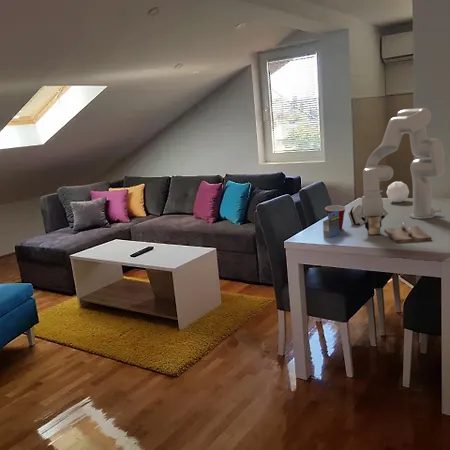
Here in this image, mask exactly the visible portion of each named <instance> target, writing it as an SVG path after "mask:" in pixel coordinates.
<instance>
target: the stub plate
mask: <svg viewBox="0 0 450 450" xmlns="http://www.w3.org/2000/svg"><path fill="white" fill-rule="evenodd" d="M384 233H385V234H386V235H387V236H388V237H389V238H390V239H391V240H392V242H394V243H395V244H399V243H400V244H401V243H403V244H404V243H415V242H427V241H428V242H429V241H432V236H430V235H429V234H428V233H427V232H425V231H424V230H423V229H421V228H420V227H419V226H418V225H416V226H415V225H414V226H406V222H401V226H400V227H389V228H384Z"/></svg>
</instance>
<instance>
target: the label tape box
mask: <svg viewBox="0 0 450 450" xmlns="http://www.w3.org/2000/svg"><path fill="white" fill-rule="evenodd" d="M333 214H335V216H332V215H333ZM328 217H329V219H328ZM322 231H323V238H327V239H328V238H329V239H330V238H333V237H334V236H337V235H339V234H340V230H339V211H336V212H333V213H330V214H328V215H327V219H325V220H323V221H322Z"/></svg>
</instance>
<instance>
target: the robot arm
mask: <svg viewBox="0 0 450 450" xmlns="http://www.w3.org/2000/svg"><path fill="white" fill-rule="evenodd" d="M431 119H432V112H431V110H430V109H428V108H426V107H417V108H405V109H402V110H399V111H398V112H397V113H396V116H394V117H392V118H390V119H389V121H388V123H387V126H386V129H385V132H384V134H383V137H382V141H381V143H380V144H379V146H378V147H376V148H375V149H374V150H373V151H372V152H371V154H370V155H369V156H368V158H367V160H366V164H365V166H364V169H363V170H362V181H363V186H362V187H363V195H362V196H361V204H360V205H361V211H360V213H359V214H358V215H357V216H358V217H359V218H361V219H362V220H363V221H364V222H365V223H364V228H365V230H366V231H367V230H369V224H368V217H370V216H378V217H379V218H380V228H382V221H383V220H384V219H385V217H387V216H388V215H389V213H388V211H386V209H384V203H383V197H382V195H381V194H382V193H384V192H383V191H384V190H383V189H380V186H381V185H380V182H386V181H389V180H391V179H392V178H393V177H394V174H395V173H394V169H393V167H392V166H390V165H386V164H385V165H384V164H383V165H382V164H379V162H380V161H382V159H383V158H384V157H386V156H388V155H391V154H393V153H395V152H396V151H398V150H399V148H400V146H401V141H402V138H403V137H404V134H408V135H409V142H410V150H411V154H412V155H413V156H414V157H417V158H416V159H413V160H412V161H411V163H410V166H409V167H410V169H409V170H410V173H411V178H412V179H411V180H412V213H410V214H409V217H410V218H412V219H418V220H422V219H423V220H425V219H426V220H427V219H432V218H435V216H436V213H441V212H442V209H441V208H434V207H433V203H432V202H433V201H432V200H433V197H432V196H433V193H432V191H433V188H432V187H433V186H432V185H433V184H432V181H431V178H439V177H442V176H443V175H444V174H445V171H446V163H445V162H446V161H445V149H444V145H443V143H442V140H441V139H438V138H436V137H435V138H434V137H433V138H432V137H431V138H429V137H428V132H427V128H426V126H428V125H429V124H430V121H431ZM418 157H419V158H418ZM361 215H363V216H365V218H364V217H362V216H361Z"/></svg>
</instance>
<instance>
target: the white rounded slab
mask: <svg viewBox="0 0 450 450" xmlns="http://www.w3.org/2000/svg"><path fill="white" fill-rule="evenodd" d="M360 211H361V204H360V205H354V206H352V207H350V209H349V210H348V217H349V221H350V222H351V223H350V224H351V226H354V225H358V224H359V226H362V225H363V224H365V222H364V221H363V220H362V219H361V218H359V217H358V216H357V215H358V214H359V213H360ZM361 216H362V217H364V218H365V216H363V215H361Z"/></svg>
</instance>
